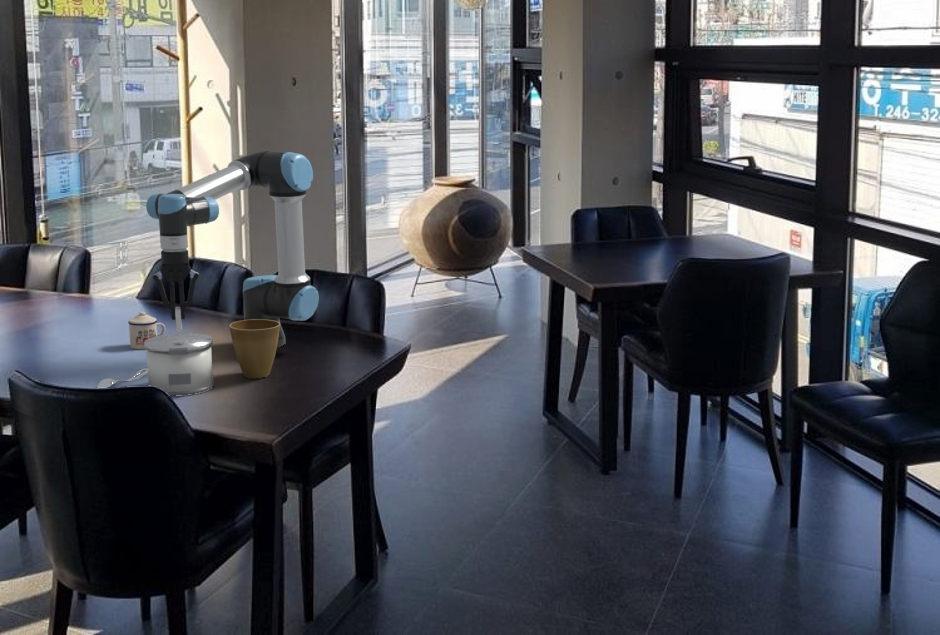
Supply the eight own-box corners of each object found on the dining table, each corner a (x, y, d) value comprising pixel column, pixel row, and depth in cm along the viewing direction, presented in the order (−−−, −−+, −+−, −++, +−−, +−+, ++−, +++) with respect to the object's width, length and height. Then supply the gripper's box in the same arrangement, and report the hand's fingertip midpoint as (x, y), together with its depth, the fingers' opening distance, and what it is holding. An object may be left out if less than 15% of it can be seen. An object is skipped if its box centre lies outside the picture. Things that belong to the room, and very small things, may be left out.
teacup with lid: (135, 351, 357) (133, 316, 354) (125, 345, 364) (123, 311, 361) (170, 346, 364) (169, 312, 361) (160, 340, 371) (159, 306, 368)
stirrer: (140, 361, 332) (153, 362, 330) (141, 372, 333) (154, 374, 331) (93, 381, 315) (105, 383, 313) (94, 393, 316) (107, 395, 314)
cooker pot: (213, 376, 330) (211, 337, 327) (214, 394, 312) (212, 353, 310) (148, 379, 326) (146, 340, 323) (146, 398, 308) (144, 357, 305)
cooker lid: (212, 337, 328) (212, 331, 327) (213, 353, 307) (213, 347, 307) (146, 340, 323) (145, 334, 323) (142, 356, 303) (142, 351, 303)
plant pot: (291, 375, 332) (290, 324, 329) (251, 385, 322) (249, 332, 318) (261, 365, 342) (259, 316, 338) (221, 375, 331) (219, 323, 328)
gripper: (150, 252, 305) (155, 334, 311) (198, 251, 308) (202, 332, 314) (151, 247, 312) (156, 328, 318) (198, 246, 315) (202, 326, 321)
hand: (179, 330), depth 316 cm, fingers closed
